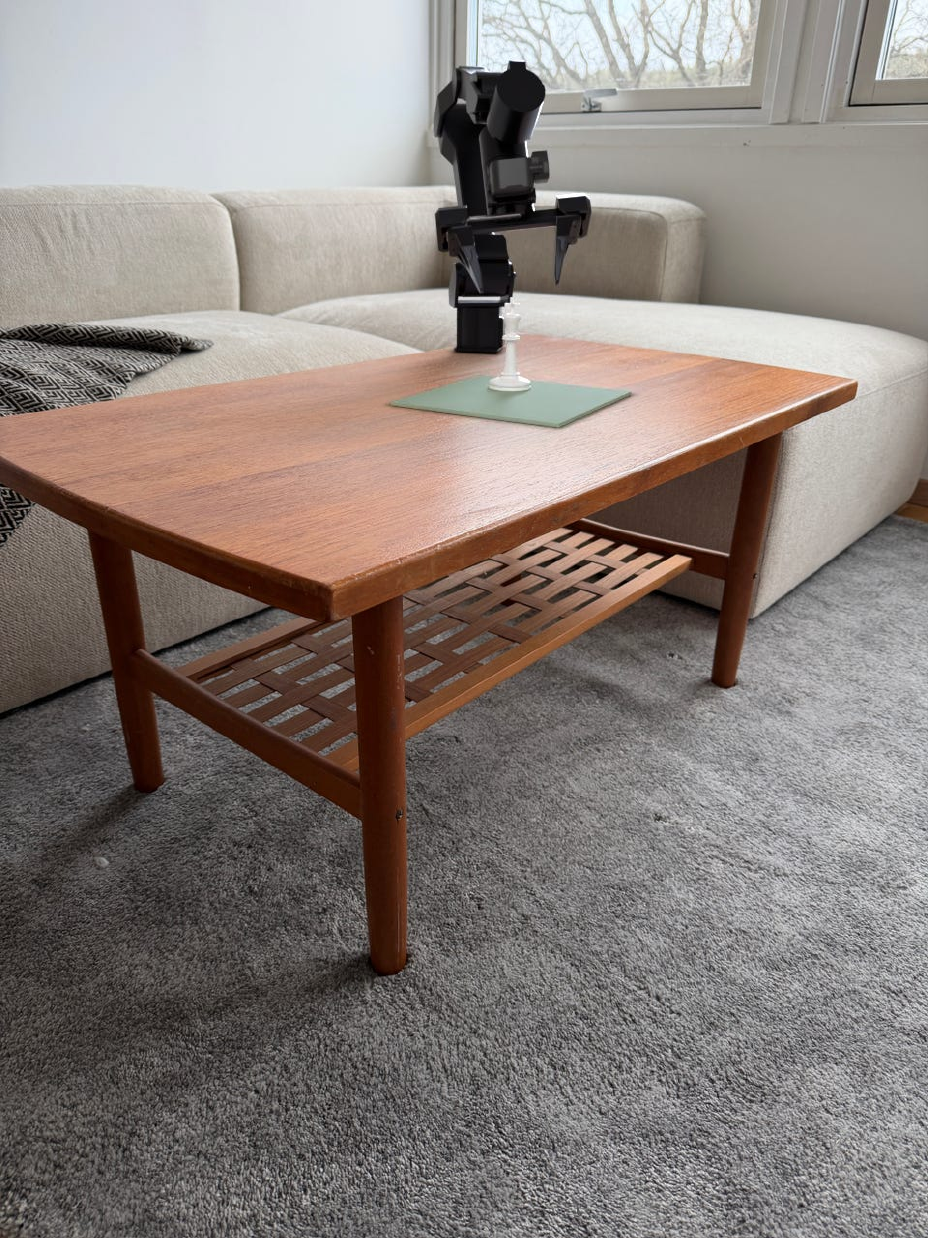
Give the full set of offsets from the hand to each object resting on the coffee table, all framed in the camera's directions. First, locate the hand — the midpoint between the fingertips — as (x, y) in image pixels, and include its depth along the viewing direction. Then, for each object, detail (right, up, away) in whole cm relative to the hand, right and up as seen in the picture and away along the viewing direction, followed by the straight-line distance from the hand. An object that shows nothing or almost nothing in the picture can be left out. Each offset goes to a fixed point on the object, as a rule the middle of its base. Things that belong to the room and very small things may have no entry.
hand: (519, 287), depth 110 cm
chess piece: (-1, -13, -4) cm, 14 cm away
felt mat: (-1, -16, -8) cm, 18 cm away
